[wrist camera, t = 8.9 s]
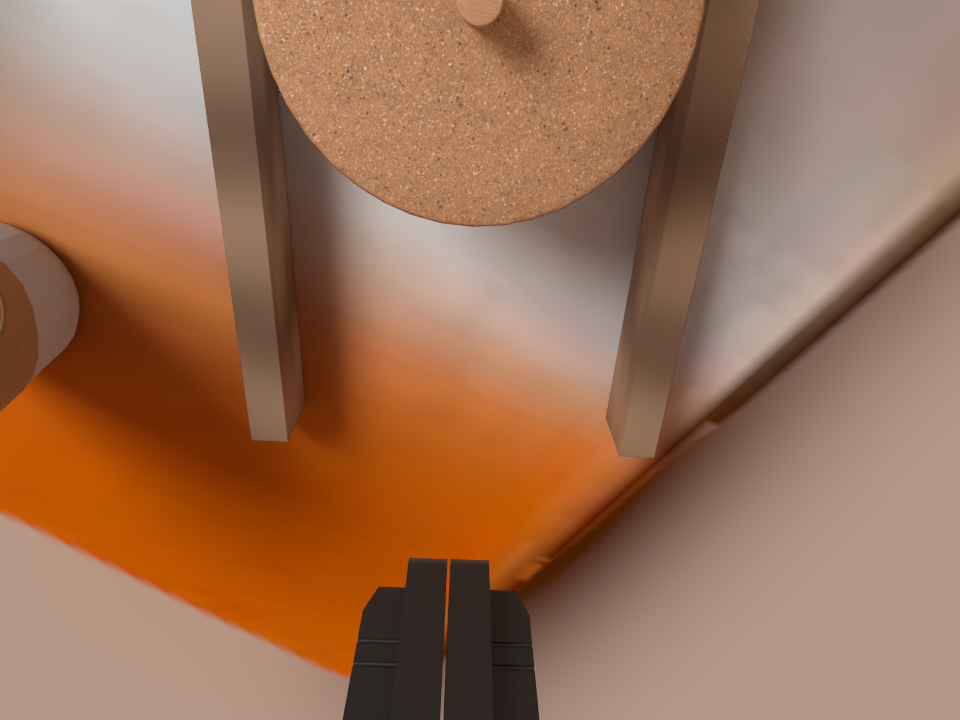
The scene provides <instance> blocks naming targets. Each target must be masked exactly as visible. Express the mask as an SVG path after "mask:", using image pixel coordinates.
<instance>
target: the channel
mask: <svg viewBox="0 0 960 720" xmlns="http://www.w3.org/2000/svg"><path fill="white" fill-rule="evenodd" d="M759 3H760V0H705V6H704V14H703V18H702V22H701V26H700V30H699V34H698V38H697V42H696V47H695V51H694V54H693V56H692V59H691V61H690V64H689V66H688V69H687V72H686V74H685V77H684V79H683V82H682V84H681V87H680V89H679V91H678V93H677V94H676V96H675V98H674V100H673V102H672V103H671V105H670V107H669V109H668V111H667V112H666V114H665V116H664V118H663V119H662V121H661V123H660V124H659V127H658V133H657V139H656V144H655V150H654V155H653V161H652V166H651V172H650V177H649V183H648V188H647V194H646V199H645V205H644V210H643V216H642V222H641V227H640V233H639V238H638V244H637V249H636V255H635V260H634V266H633V271H632V277H631V282H630V288H629V293H628V299H627V304H626V310H625V316H624V321H623V327H622V332H621V338H620V343H619V349H618V354H617V360H616V365H615V371H614V376H613V382H612V387H611V393H610V399H609V404H608V410H607V415H606V419H607V422H608V425H609V428H610V431H611V434H612V437H613V440H614V443H615V445H616V448H617V451H618V454H619V456H626V457H649V458H654V456H655V451H656V447H657V443H658V438H659V434H660V430H661V425H662V421H663V417H664V412H665V408H666V404H667V400H668V395H669V391H670V387H671V382H672V378H673V374H674V369H675V365H676V361H677V356H678V352H679V348H680V343H681V339H682V335H683V331H684V326H685V322H686V318H687V313H688V309H689V305H690V300H691V296H692V292H693V287H694V283H695V279H696V274H697V270H698V266H699V261H700V257H701V253H702V249H703V244H704V240H705V236H706V231H707V227H708V223H709V218H710V214H711V210H712V205H713V201H714V197H715V192H716V188H717V184H718V180H719V175H720V171H721V167H722V162H723V158H724V154H725V149H726V145H727V141H728V136H729V132H730V128H731V123H732V119H733V115H734V110H735V106H736V102H737V98H738V93H739V89H740V85H741V80H742V76H743V72H744V67H745V63H746V59H747V54H748V50H749V46H750V41H751V37H752V33H753V29H754V24H755V20H756V16H757V11H758V7H759ZM191 5H192V12H193V20H194V27H195V34H196V41H197V49H198V56H199V63H200V70H201V78H202V85H203V92H204V100H205V107H206V114H207V121H208V129H209V136H210V143H211V150H212V158H213V165H214V172H215V179H216V187H217V194H218V201H219V208H220V216H221V223H222V230H223V237H224V245H225V252H226V259H227V266H228V274H229V281H230V288H231V295H232V303H233V310H234V317H235V324H236V332H237V339H238V346H239V353H240V361H241V368H242V375H243V383H244V390H245V397H246V404H247V412H248V419H249V426H250V433H251V440H263V441H285V442H288V440H289V438H290V435H291V433H292V431H293V429H294V427H295V425H296V422H297V420H298V418H299V416H300V414H301V412H302V410H303V407H304V405H305V396H304V384H303V373H302V361H301V350H300V338H299V326H298V315H297V303H296V291H295V280H294V268H293V257H292V245H291V233H290V222H289V210H288V199H287V187H286V175H285V164H284V152H283V141H282V129H281V117H280V106H279V94H278V86H277V83H276V81H275V79H274V77H273V75H272V73H271V71H270V68H269V65H268V61H267V58H266V55H265V52H264V49H263V46H262V43H261V40H260V37H259V34H258V28H257V23H256V17H255V12H254V6H253V1H252V0H191Z"/></svg>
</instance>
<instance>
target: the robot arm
mask: <svg viewBox="0 0 960 720" xmlns="http://www.w3.org/2000/svg"><path fill="white" fill-rule="evenodd" d="M446 577H447V559H426V558H409V563H408V571H407V579H406V587H405V588H396V587H379V588H378V589H377V590H376V592H375V593H374V595H373V596H372V598H371V599H370V601H369V602H368V604H367V605H366V607H365V608H364V610H363V613H362V619H361V624H360V629H359V635H358V643H357V645H356V651H355V656H354V664H353V667H352V672H351V678H350V683H349V689H348V694H347V699H346V705H345V710H344V715H343V720H440V708H441V707H440V706H441V686H442V665H443V644H444V623H445V600H446ZM444 720H539V711H538V701H537V691H536V681H535V671H534V660H533V649H532V638H531V628H530V616H529V614H528V612H527V610H526V608H525V606H524V605H523V603H522V601H521V599H520V598H519V596H518V594H517V592H516V591H497V590H490V582H489V561H488V560H462V559H451V564H450V585H449V606H448V627H447V650H446V675H445V698H444Z"/></svg>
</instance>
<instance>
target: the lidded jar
mask: <svg viewBox="0 0 960 720" xmlns="http://www.w3.org/2000/svg"><path fill="white" fill-rule="evenodd" d="M252 1H253V6H254V12H255V17H256V23H257V28H258V34H259V37H260V40H261V43H262V46H263V49H264V52H265V55H266V58H267V61H268V65H269V68H270V71H271V73H272V75H273V77H274V79H275V81H276V83H277V86H278V88H279V90H280V92H281V94H282V96H283V98H284V100H285V102H286V104H287V106H288V108H289V109H290V111H291V112H292V114H293V115H294V117H295V119H296V120H297V122H298V123H299V125H300V126H301V128H302V129H303V131H304V132H305V134H306V135H307V137H308V138H309V139H310V140H311V141H312V142H313V144H314V145H315V146H316V147H317V148H318V149H319V150H320V152H321V153H322V154H323V155H324V156H325V157H326V158H327V160H328V161H329V162H330V163H331V164H332V165H333V166H335V167H336V168H337V169H338V170H339V171H340V172H342V173H343V174H344V175H345V176H346V177H347V178H349V179H350V180H351V181H352V182H353V183H354V184H356V185H357V186H359V187H360V188H362V189H363V190H365V191H366V192H368V193H370V194H371V195H373V196H374V197H376V198H377V199H379V200H381V201H382V202H384V203H386V204H388V205H391V206H393V207H395V208H397V209H400V210H402V211H404V212H406V213H409V214H411V215H414V216H418V217H421V218H425V219H428V220H432V221H436V222H439V223H445V224H454V225H462V226H471V227H474V226H499V225H507V224H512V223H517V222H522V221H527V220H532V219H535V218H538V217H540V216H543V215H546V214H549V213H551V212H554V211H557V210H560V209H562V208H564V207H566V206H568V205H569V204H571V203H573V202H575V201H577V200H579V199H581V198H582V197H584V196H586V195H588V194H590V193H591V192H592V191H594V190H595V189H596V188H598V187H599V186H600V185H602V184H603V183H604V182H606V181H607V180H608V179H610V178H611V177H612V176H614V175H615V174H616V173H617V172H618V171H619V170H620V169H621V168H622V167H623V166H624V165H625V164H626V163H627V162H628V161H629V160H630V159H631V158H632V157H633V156H634V155H635V154H636V153H637V152H638V151H639V150H640V149H641V148H642V146H643V145H644V144H645V142H646V141H647V140H648V138H649V137H650V136H651V134H652V133H653V132H654V131H655V129H656V128H657V127H658V125H659V124H660V123H661V121H662V119H663V118H664V116H665V114H666V112H667V111H668V109H669V107H670V105H671V103H672V102H673V100H674V98H675V96H676V94H677V93H678V91H679V89H680V87H681V84H682V82H683V79H684V77H685V74H686V72H687V69H688V66H689V64H690V61H691V59H692V56H693V54H694V51H695V47H696V42H697V38H698V34H699V30H700V26H701V22H702V18H703V14H704V6H705V0H252Z"/></svg>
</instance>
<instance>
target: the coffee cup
mask: <svg viewBox="0 0 960 720" xmlns="http://www.w3.org/2000/svg"><path fill="white" fill-rule="evenodd" d="M79 312H80V309H79V295H78V292H77V289H76V286H75V283H74V280H73V278H72V276H71V275H70V273H69V272H68V270H67V268H66V267H65V265H64V264H63V262H62V261H61V260H60V259H59V258H58V257H57V256H56V255H55V254H54V253H53V252H52V251H51V249H50V248H49V247H48V246H46V245H45V244H43V243H42V242H41V241H39V240H38V239H36V238H35V237H34V236H32V235H31V234H29V233H27V232H25V231H22V230H20V229H18V228H16V227H14V226H11V225H8V224H4V223H0V411H1V410H2V409H4V408H5V407H6V406H7V405H8V404H9V403H10V402H11V401H12V400H13V399H14V398H15V397H16V396H17V395H18V394H20V393H21V392H22V391H23V390H24V388H25V387H26V385H27V384H28V383H29V381H31V380H32V379H33V378H34V377H35V376H36V375H37V374H38V373H39V372H40V371H41V370H42V369H44V368H45V367H46V366H47V365H48V364H49V363H50V362H51V361H52V360H53V359H54V358H55V357H57V356H58V355H59V354H60V353H61V352H62V351H63V350H64V349H65V348H66V347H67V345H68V344H69V342H70V341H71V340H72V338H73V337H74V335H75V331H76V328H77V324H78V316H79Z"/></svg>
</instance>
